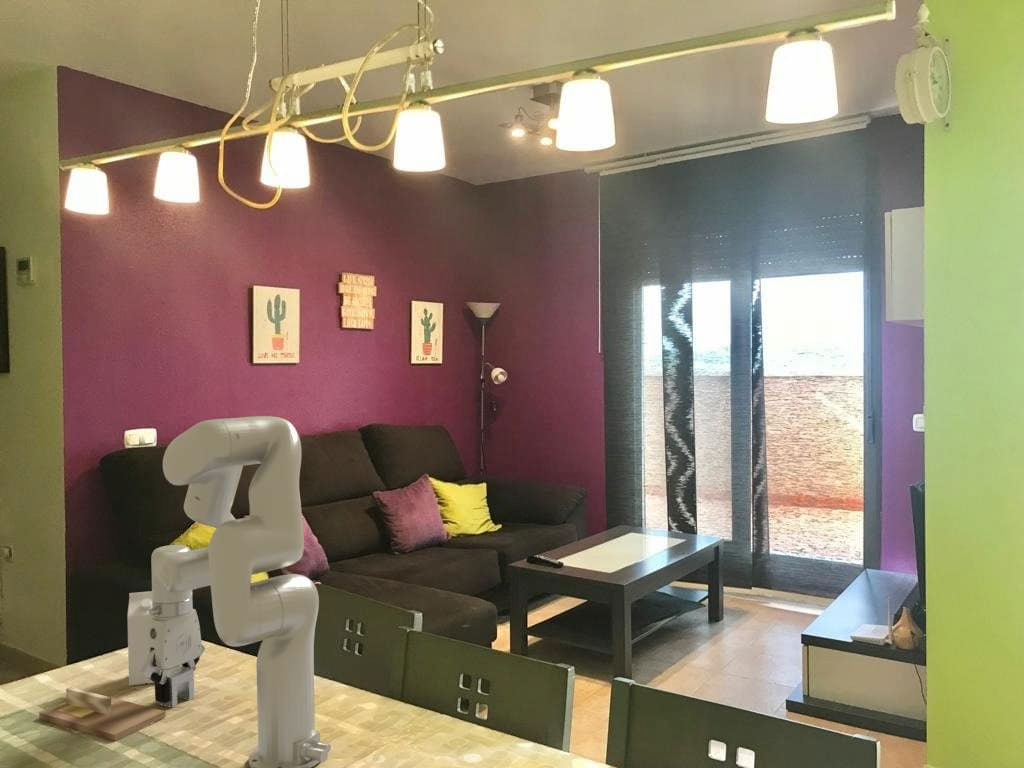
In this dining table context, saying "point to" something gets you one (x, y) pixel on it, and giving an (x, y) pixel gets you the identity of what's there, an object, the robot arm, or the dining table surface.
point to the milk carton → (138, 635)
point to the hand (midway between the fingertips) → (174, 695)
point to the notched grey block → (179, 684)
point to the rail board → (101, 714)
